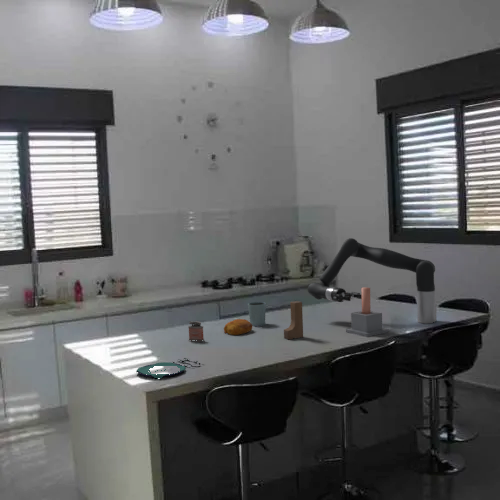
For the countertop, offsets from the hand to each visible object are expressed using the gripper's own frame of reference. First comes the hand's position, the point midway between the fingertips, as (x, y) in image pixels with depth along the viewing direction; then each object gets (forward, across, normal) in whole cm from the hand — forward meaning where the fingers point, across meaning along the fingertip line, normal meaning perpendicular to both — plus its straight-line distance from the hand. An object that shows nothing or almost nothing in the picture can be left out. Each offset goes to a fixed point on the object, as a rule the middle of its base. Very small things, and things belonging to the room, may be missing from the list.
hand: (356, 297), depth 331 cm
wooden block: (-9, -35, +17) cm, 40 cm away
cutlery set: (+3, -109, +18) cm, 111 cm away
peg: (+7, 0, +14) cm, 16 cm away
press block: (+7, 0, +17) cm, 18 cm away
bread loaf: (-40, -48, +18) cm, 65 cm away
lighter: (-38, -75, +18) cm, 86 cm away
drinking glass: (-49, -30, +17) cm, 60 cm away
